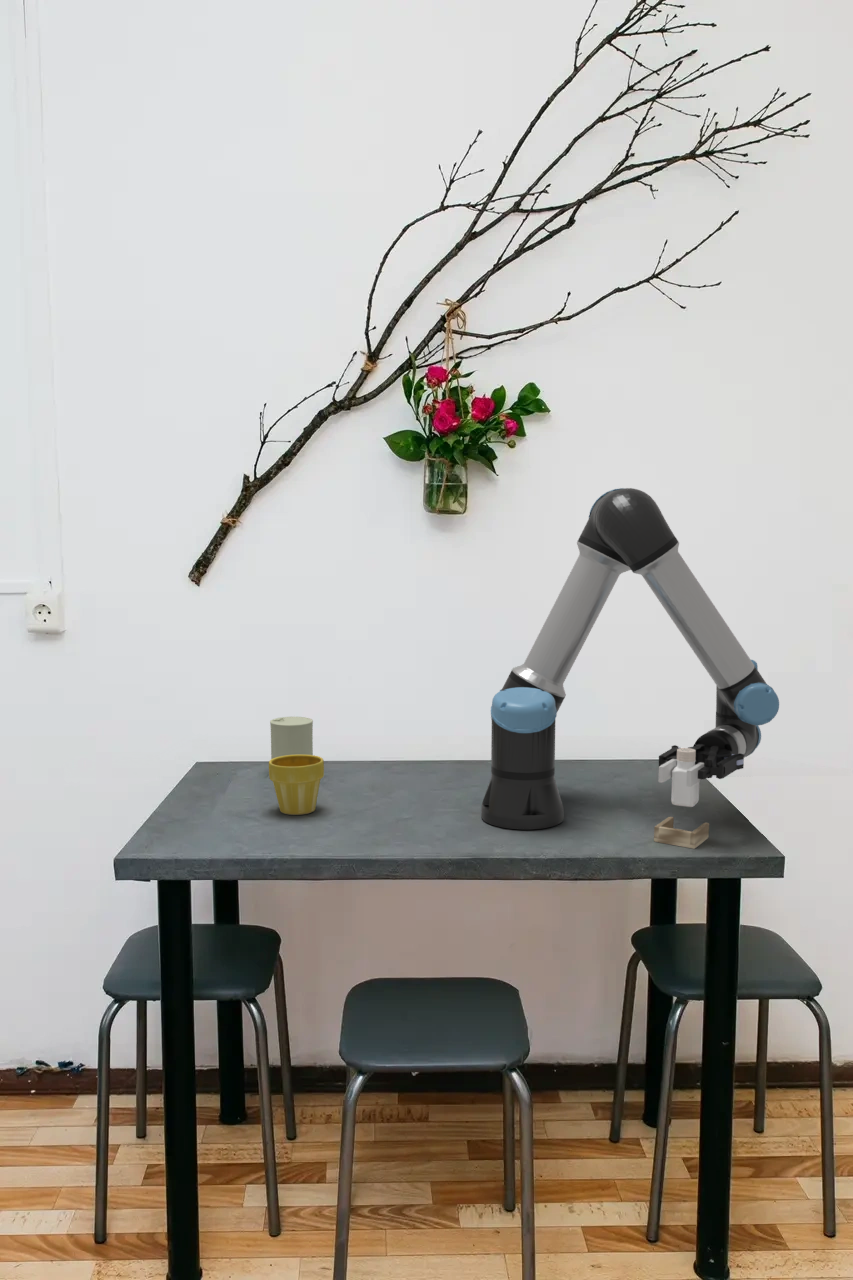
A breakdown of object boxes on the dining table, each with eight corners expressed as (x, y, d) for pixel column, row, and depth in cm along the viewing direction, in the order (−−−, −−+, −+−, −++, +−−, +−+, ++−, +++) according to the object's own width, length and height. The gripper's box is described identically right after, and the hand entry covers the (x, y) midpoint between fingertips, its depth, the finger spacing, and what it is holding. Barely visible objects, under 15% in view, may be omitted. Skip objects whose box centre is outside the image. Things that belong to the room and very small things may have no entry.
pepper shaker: (699, 802, 184) (701, 748, 183) (693, 808, 181) (694, 753, 180) (676, 799, 186) (678, 746, 185) (670, 805, 183) (671, 751, 182)
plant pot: (263, 806, 204) (262, 756, 203) (315, 800, 208) (315, 751, 207) (277, 820, 195) (276, 768, 194) (331, 814, 199) (330, 763, 198)
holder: (653, 841, 183) (654, 826, 183) (668, 830, 189) (669, 816, 189) (694, 848, 179) (695, 833, 179) (708, 837, 185) (709, 823, 185)
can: (277, 767, 235) (276, 713, 233) (318, 768, 233) (317, 715, 232) (265, 777, 225) (264, 722, 224) (307, 779, 224) (307, 723, 223)
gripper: (765, 775, 193) (724, 806, 174) (673, 763, 203) (625, 791, 183) (766, 734, 192) (726, 761, 173) (674, 724, 202) (626, 748, 182)
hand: (674, 776), depth 178 cm, fingers closed on pepper shaker, 4 cm apart
